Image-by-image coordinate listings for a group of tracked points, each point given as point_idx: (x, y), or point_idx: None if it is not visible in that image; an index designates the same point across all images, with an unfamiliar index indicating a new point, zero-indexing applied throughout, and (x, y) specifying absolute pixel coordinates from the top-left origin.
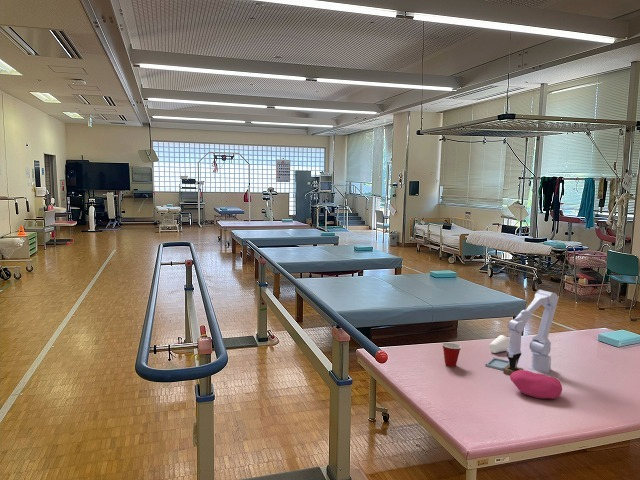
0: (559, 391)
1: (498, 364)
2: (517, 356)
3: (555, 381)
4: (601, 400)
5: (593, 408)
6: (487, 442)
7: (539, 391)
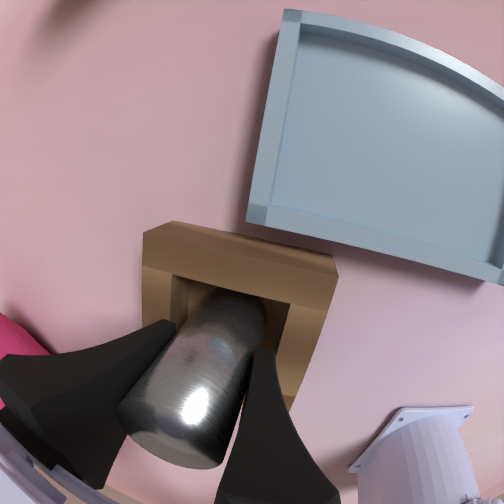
0: None
1: (422, 146)
2: (89, 484)
3: None
4: (166, 500)
5: None
6: None
7: None
